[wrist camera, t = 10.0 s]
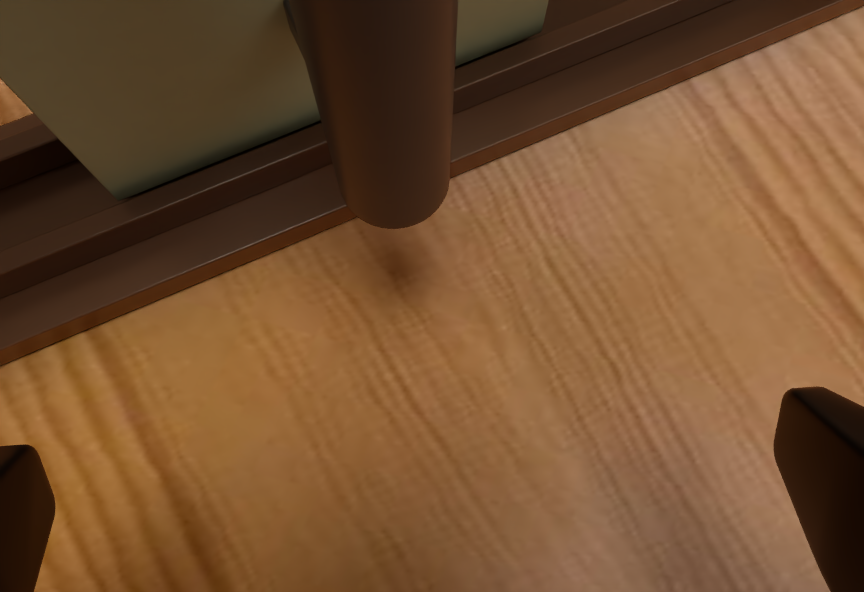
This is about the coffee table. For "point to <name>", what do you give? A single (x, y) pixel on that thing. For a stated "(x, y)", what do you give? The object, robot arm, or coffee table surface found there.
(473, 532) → the coffee table surface
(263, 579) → the coffee table surface
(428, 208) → the door
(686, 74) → the door frame
